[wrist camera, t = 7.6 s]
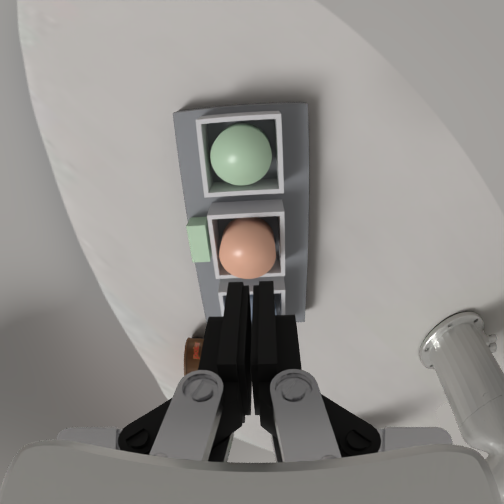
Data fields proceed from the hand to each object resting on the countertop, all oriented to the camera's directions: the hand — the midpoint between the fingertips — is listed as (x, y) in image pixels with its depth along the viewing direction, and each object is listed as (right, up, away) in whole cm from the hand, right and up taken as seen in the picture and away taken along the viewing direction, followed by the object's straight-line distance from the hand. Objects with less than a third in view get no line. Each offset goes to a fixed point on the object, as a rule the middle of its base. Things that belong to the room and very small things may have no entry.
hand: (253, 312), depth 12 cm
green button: (-1, +12, +16) cm, 19 cm away
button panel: (0, +5, +22) cm, 22 cm away
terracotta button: (0, +3, +19) cm, 19 cm away
